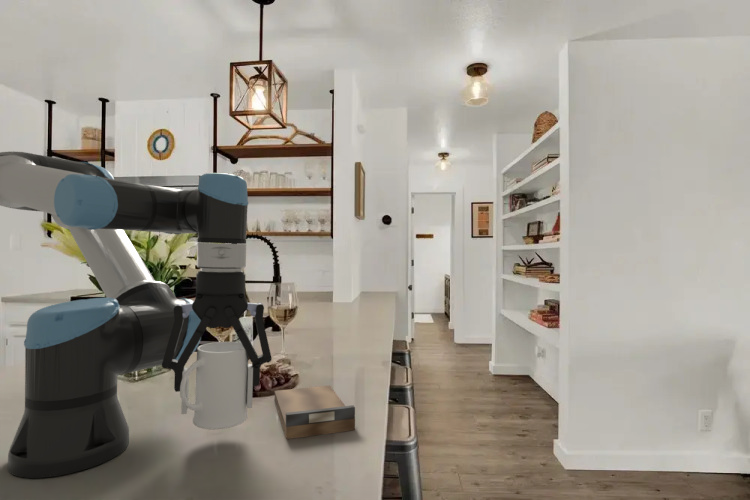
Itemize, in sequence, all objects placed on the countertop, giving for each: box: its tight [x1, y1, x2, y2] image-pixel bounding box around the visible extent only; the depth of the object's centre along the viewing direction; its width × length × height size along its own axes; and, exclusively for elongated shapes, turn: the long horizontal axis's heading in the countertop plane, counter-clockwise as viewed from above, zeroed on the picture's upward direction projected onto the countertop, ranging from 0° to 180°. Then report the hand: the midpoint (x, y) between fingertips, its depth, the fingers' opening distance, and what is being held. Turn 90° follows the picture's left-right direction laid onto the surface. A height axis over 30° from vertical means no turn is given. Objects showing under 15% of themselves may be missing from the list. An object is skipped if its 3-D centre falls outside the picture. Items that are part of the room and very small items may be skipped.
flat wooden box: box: [274, 385, 356, 440], centre depth 82 cm, size 12×20×4 cm, turn 19°
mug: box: [179, 341, 249, 431], centre depth 69 cm, size 12×8×12 cm
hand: (217, 407), depth 69 cm, fingers closed on mug, 9 cm apart
